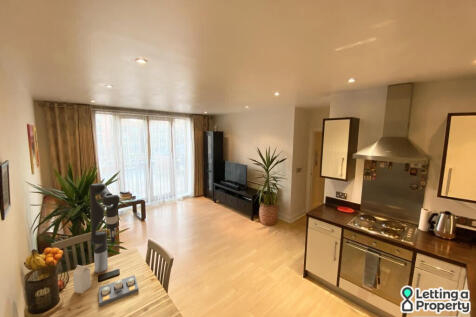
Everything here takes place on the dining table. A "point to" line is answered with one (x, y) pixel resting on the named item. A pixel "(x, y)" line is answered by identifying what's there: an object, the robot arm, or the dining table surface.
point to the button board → (117, 291)
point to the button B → (118, 284)
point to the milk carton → (81, 279)
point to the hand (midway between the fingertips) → (113, 243)
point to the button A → (105, 291)
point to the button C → (130, 282)
